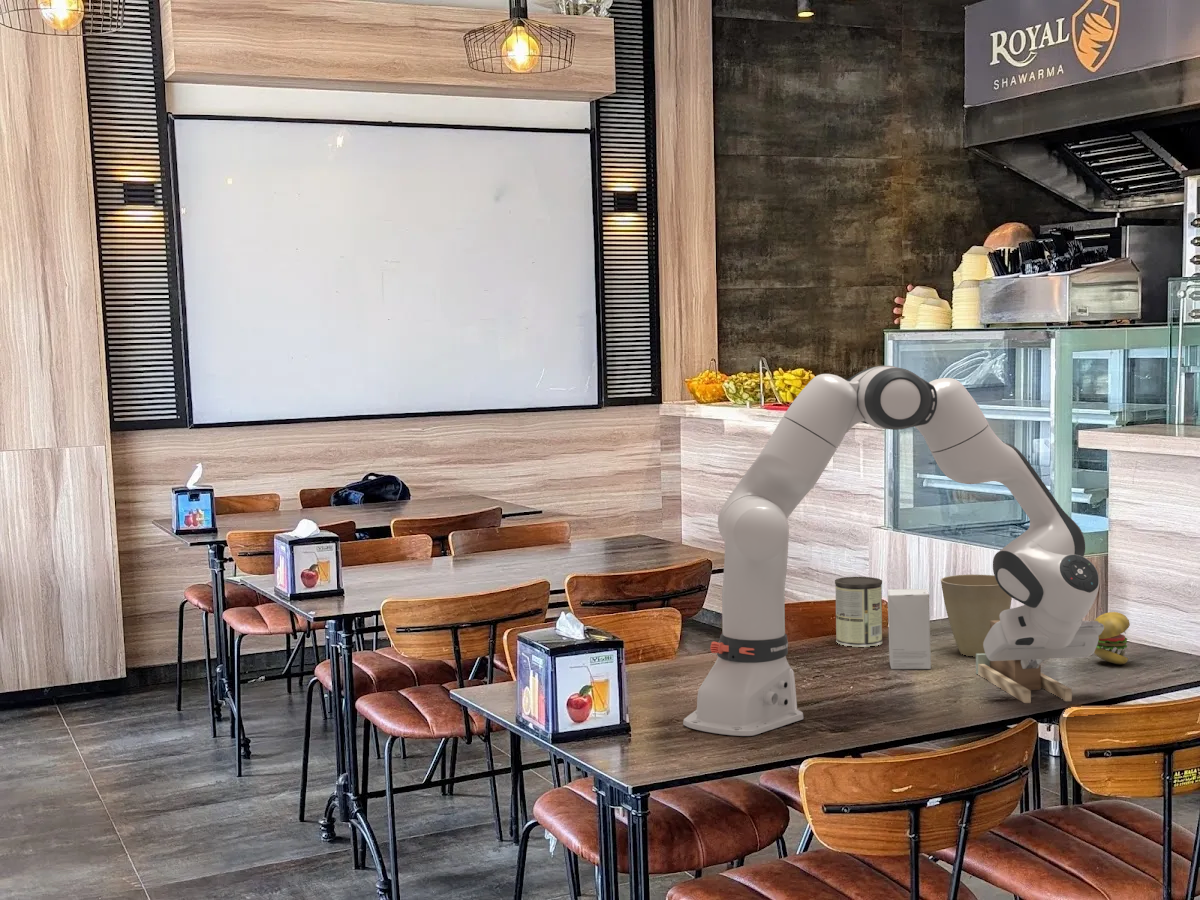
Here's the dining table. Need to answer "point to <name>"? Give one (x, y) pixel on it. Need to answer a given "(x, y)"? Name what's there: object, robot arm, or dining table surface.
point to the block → (1018, 671)
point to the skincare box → (909, 629)
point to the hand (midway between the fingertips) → (1028, 665)
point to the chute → (1019, 690)
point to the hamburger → (1112, 637)
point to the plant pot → (973, 608)
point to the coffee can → (859, 611)
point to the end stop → (981, 660)
